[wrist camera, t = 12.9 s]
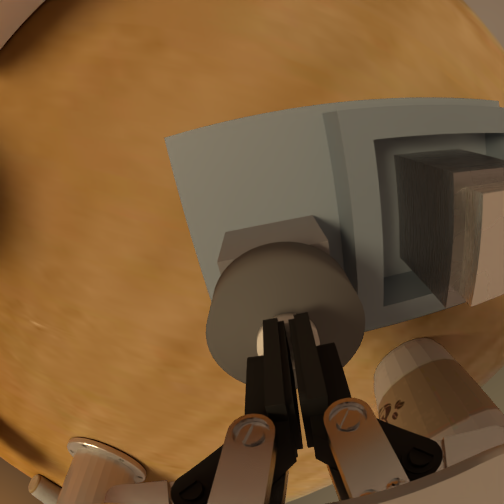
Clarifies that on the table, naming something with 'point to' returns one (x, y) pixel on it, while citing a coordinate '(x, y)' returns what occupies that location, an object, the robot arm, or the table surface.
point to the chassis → (324, 187)
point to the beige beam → (14, 16)
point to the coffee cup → (431, 392)
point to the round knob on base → (281, 303)
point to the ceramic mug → (44, 489)
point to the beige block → (452, 223)
